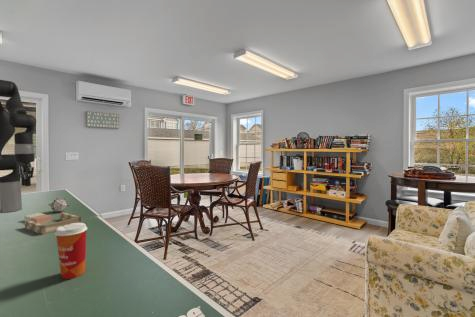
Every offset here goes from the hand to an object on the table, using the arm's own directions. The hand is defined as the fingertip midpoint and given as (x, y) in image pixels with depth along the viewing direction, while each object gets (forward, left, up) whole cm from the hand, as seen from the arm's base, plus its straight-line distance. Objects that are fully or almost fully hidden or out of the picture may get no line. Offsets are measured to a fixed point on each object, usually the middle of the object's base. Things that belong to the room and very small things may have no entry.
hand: (26, 185), depth 123 cm
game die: (+2, +13, -17) cm, 22 cm away
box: (+28, 0, -17) cm, 32 cm away
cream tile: (+8, 0, -17) cm, 19 cm away
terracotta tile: (+15, 0, -17) cm, 23 cm away
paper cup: (+82, -18, -17) cm, 86 cm away
